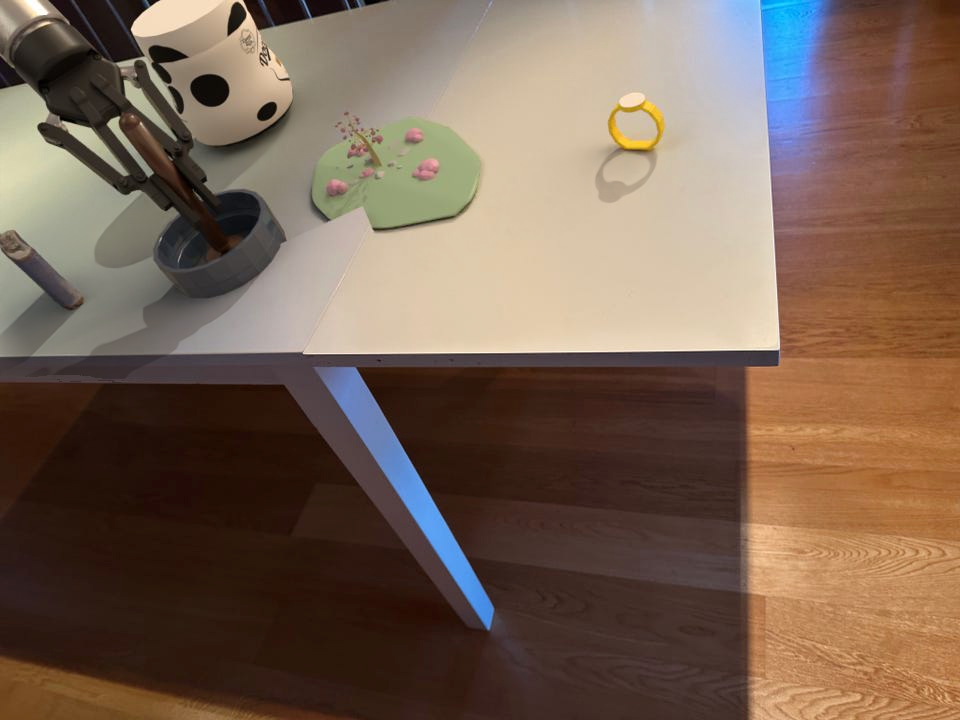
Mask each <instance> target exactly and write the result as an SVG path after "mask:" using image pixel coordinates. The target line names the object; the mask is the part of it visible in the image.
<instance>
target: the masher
mask: <svg viewBox="0 0 960 720" xmlns="http://www.w3.org/2000/svg"><path fill="white" fill-rule="evenodd" d="M118 127H119V128H118V129H119V130H120V131H121V133H122V134H123V135H124V137H125V138H126V139H127V140H128V142H129V143H130V144H131V146H132V147H133V148H134V149H135V151H136V152H137V153H138V154H139V156H140V157H141V158H142V160H143V161H144V162H145V163H146V165H147V166H148V168H149V169H150V170H151V171H152V172H153V174H154V173H156V174H157V175H158V176H159V177H160V178H161V179H162V180H163V181H164V183H165V184H166V185H167V186H168V187H169V188H170V189H171V190H172V191H173V192H174V193H175V194H176V195H177V196H178V197H179V198H180V199H181V200H182V201H183V202H184V203H185V204H186V205H187V206H188V207H189V208H190V209H191V210H192V211H193V212H194V213H195V214H196V215H197V216H198V217H199V218H200V220H201V224H202V228H201V229H200V230H198V231H199V232H200V233H201V235H202V236H203V237H204V238H205V240H206V241H207V242H208V244H209V245H210V246H211V248H210V249H209V251H208V253H207V255H206V260H207V262H208V263H209V262H212V261H214V260H216V259H218V258H220V257H222V256H224V255H225V254H227V253H228V252H229V251H231V250H232V249H234V248H235V247H237V246H238V245H239V244H240V243H241V242H242V241H243V240H244V239H243V238H242V237H241V236H236V235H234V236H228V237H227V236H226V234H225V233H224V232H223V230H222V229H221V227H220V226H219V225H218V223H217V222H216V221H215V219H214V218H213V217H212V215H211V214H210V213H209V211H208V210H207V208H206V207H205V206H204V204H203V203H202V202H201V198H200V197H199V196H198V195H197V194H196V192H195V191H194V190H193V189H192V188H191V187H190V185H189V184H188V183H187V181H186V180H185V179H184V177H183V176H182V175H181V173H180V172H179V171H178V169H177V168H176V166H175V165H174V164H173V162H172V159H171V158H170V157H168V156H167V154H166V153H165V151H164V150H163V149H162V147H161V146H160V145H159V143H158V142H157V141H156V139H155V138H154V137H153V135H152V134H151V132H150V131H149V130H148V128H147V127H146V126H145V124H144V123H143V122H142V120H141V119H140V118H139V117H138V116H137V115H135V114H131V113H127V114H124V115H122V116H121V117H119V119H118Z"/></svg>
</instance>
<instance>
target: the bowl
mask: <svg viewBox="0 0 960 720" xmlns="http://www.w3.org/2000/svg"><path fill="white" fill-rule="evenodd" d="M213 194H214V195H215V196H216V197H217V198H218V199H219V200H220V201H221V202H222V207H223V212H221V213H220V214H219V215H217V214H216V213H215V212H214V211H213V210H212V209H211V208H210V207H209V206H208V205H207V204H206V203H205V202H204V201H203V200H202V199H201V198H200V200H201V202H202V203H203V204H204V206H205V207H206V208H207V210H208V211H209V213H210V214H211V215H212V217H213V218H214V219H215V221H216V222H217V223H218V225H219V226H220V227H221V229H222V230H223V232H224V233H225V234H226V236H227V237H228V236H234V235H236V236H241V237H242V238H243V239H244V240H243V241H242V242H241V243H240V244H239V245H238V246H237V247H235V248H234V249H232V250H231V251H229V252H228V253H227V254H225V255H224V256H222V257H220V258H218V259H216V260H214V261H212V262H209V263H208V262H207V260H206V255H207V253H208V251H209V249H210V248H211V246H210V245H209V244H208V242H207V241H206V240H205V238H204V237H203V236H202V235H201V233H200V232H199V231H196V230H195V229H194V228H193V227H192V226H191V225H190V224H189V223H188V222H187V221H186V220H185V219H184V218H183V217H182V216H181V215H180V214H179V213H178V214H177V215H176V216H174V218H172V219H171V220H170V221H169V222H167V224H166V225H165V226H164V228H163V229H162V231H161V232H160V233H159V235H158V236H157V238H156V240H155V243H154V246H153V247H152V252H153V254H152V255H153V256H152V257H153V258H152V260H153V262H154V263H155V264H156V266H157V267H158V269H159V270H160V271H161V272H162V273H163V275H165V277H166V278H167V279H168V280H169V281H170V282H171V283H172V285H173V286H174V287H175V288H176V289H177V290H178V291H179V292H180V294H182V295H184V296H187V297H189V298H191V299H211V298H215V297H219V296H223V295H226V294H228V293H231V292H232V291H234V290H237V289H239V288H241V287H243V286H245V285H246V284H248V283H249V282H251V281H252V280H254V279H255V278H256V277H258V276H259V275H260V274H261V273H262V272H263V271H264V270H265V269H266V268H267V267H268V266H269V265H270V264H272V262H273V260H274V259H275V257H276V255H277V254H278V252H279V251H280V249H281V247H282V244H284V243H286V242H287V241H288V240H287V236H286V233H285V230H284V229H283V227H282V225H281V224H280V222H279V220H278V219H277V218H276V215H274V213H273V212H272V210H271V208H270V207H269V205H268V204H267V202H266V200H265V199H264V198H263V197H262V196H261V194H259V193H257V192H256V191H254V190H250V189H246V188H234V189H233V188H232V189H226V190H223V191H219V192H215V193H213Z"/></svg>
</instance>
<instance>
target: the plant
mask: <svg viewBox="0 0 960 720" xmlns="http://www.w3.org/2000/svg"><path fill="white" fill-rule="evenodd" d="M349 114H350V111H348V110H346V111H344V112H343V115H344V116H346V117H347V119H348V122H349V123H348V126H349V127H350V128H351V130H348V129H347V128H346V127H345V125H344V124H343V123H342V121H338V122H337V124H335V125H334V127H335V128H338V127H339V126H340V125H341V124H342V125H341V128H340V132H341V133H345V132H348V133H349V135H348V136H347V135H344V136H343V137H342V139H343V141H341V142H338V143H337V144H335V145H333V146H332V147H329V149H327V150H326V151H325V152H324V153H323V155H321V157H320V158H319V160H318V161H317V163H316V164H315V166H314V169H313V172H312V185H311V198H312V201H313V203H314V205H315V207H316V208H317V209H318V210H319V211H320V212H321V213H322V214H323V215H324V216H325V217H326V218H327V219H328V220H329V221H333V220H336V219H338V218H340V217H342V216H344V215H346V214H349V213H351V212H353V211H355V210H357V209H359V208H361V207H362V208H363V211H364V213H365V214H366V217H367V220H368V222H369V224H370V226H371V228H372V230H385V229H393V228H398V227H404V226H409V225H415V224H419V223H425V222H429V221H434V220H438V219H439V220H440V219H445V218H449V217H454V216H457V215H458V214H459V213H460V212H461V211H462V210H463V209H464V208H465V207H466V206H467V205H468V204H469V203H470V202H471V200H472V199H473V198H474V197H475V194H476V192H477V189H478V186H479V183H480V173H481V165H482V162H481V157H480V156H479V154H478V153H477V151H475V150H474V148H472V147H471V145H469V143H468V142H467V141H466V140H464V139H463V138H462V137H461V136H460V134H459V133H458V132H456V131H455V130H454V129H453V128H451V127H449V126H448V125H445V124H442V123H440V122H435V121H432V120H428V119H424V118H420V117H411V116H409V117H406V118H402V119H400V120H397V121H394V122H391V123H388V124H385V125H381V126H379V127H375V128H373V127H370V128H369V129H365V128H364V127H360V131H361V132H359V129H358V128H354V127H355V124H356V125H358V126H359V125H360V124H361V121H360V117H358V116H357V117H356V114H355V115H353V116H352V117H353V118H354V121H353V124H352V121H351V120H350V118H349V116H348V115H349ZM352 132H353V133H354V134H353V133H352Z"/></svg>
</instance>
